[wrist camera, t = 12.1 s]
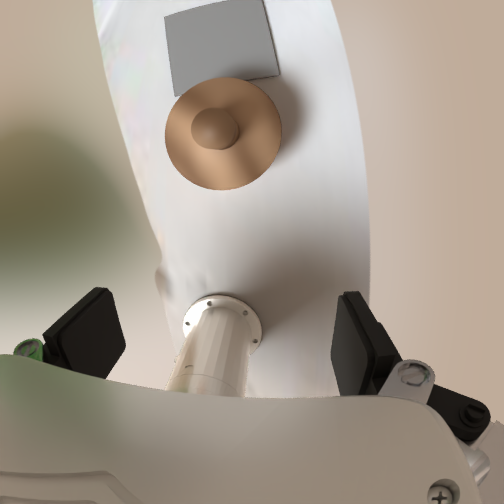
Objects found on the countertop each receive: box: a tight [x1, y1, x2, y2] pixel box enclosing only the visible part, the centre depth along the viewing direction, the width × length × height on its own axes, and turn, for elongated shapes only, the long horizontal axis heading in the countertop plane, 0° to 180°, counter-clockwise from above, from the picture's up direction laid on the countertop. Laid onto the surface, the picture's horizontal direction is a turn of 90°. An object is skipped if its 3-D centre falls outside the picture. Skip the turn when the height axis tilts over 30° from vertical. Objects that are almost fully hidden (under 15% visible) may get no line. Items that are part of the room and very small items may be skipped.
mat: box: [164, 0, 279, 97], centre depth 29 cm, size 14×14×1 cm
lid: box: [165, 77, 282, 190], centre depth 27 cm, size 13×13×6 cm
